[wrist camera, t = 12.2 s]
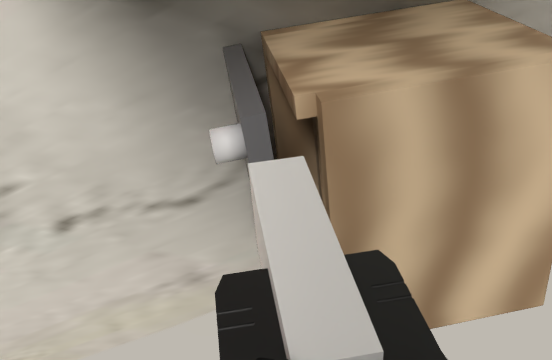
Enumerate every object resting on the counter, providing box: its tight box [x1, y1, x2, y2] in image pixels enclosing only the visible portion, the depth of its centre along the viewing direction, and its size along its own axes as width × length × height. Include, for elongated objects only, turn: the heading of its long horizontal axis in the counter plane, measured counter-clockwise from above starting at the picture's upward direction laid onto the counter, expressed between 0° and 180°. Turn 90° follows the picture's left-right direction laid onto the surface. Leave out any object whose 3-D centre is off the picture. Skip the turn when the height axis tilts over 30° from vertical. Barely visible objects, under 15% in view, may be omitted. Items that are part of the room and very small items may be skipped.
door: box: [209, 44, 274, 180], centre depth 33 cm, size 3×16×12 cm, turn 9°
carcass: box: [261, 0, 552, 329], centre depth 34 cm, size 14×16×13 cm
